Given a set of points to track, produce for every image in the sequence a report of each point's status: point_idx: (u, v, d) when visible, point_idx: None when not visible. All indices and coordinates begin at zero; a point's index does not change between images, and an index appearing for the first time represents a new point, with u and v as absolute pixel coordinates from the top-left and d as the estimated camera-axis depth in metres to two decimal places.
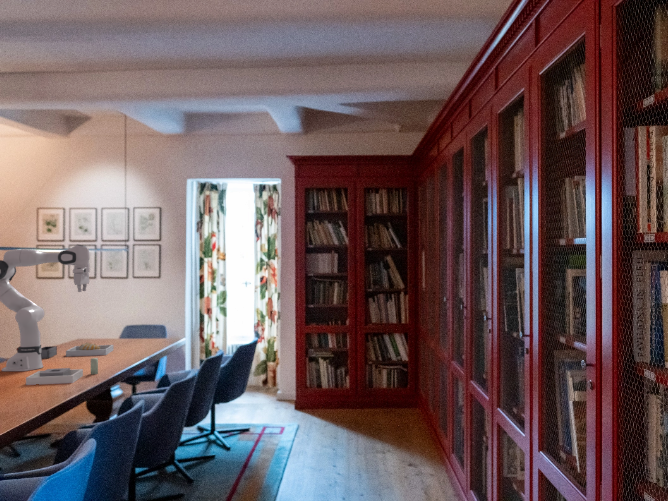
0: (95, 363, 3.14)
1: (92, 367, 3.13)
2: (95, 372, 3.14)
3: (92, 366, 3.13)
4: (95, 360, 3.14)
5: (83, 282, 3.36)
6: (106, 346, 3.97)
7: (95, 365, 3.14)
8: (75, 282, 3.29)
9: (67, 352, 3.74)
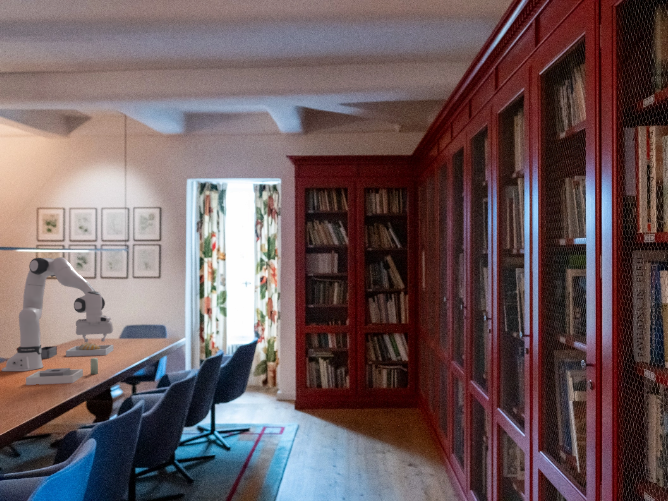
0: (95, 363, 3.14)
1: (92, 367, 3.13)
2: (95, 372, 3.14)
3: (92, 366, 3.13)
4: (95, 360, 3.14)
5: None
6: (106, 346, 3.97)
7: (95, 365, 3.14)
8: (111, 330, 3.16)
9: (67, 352, 3.74)
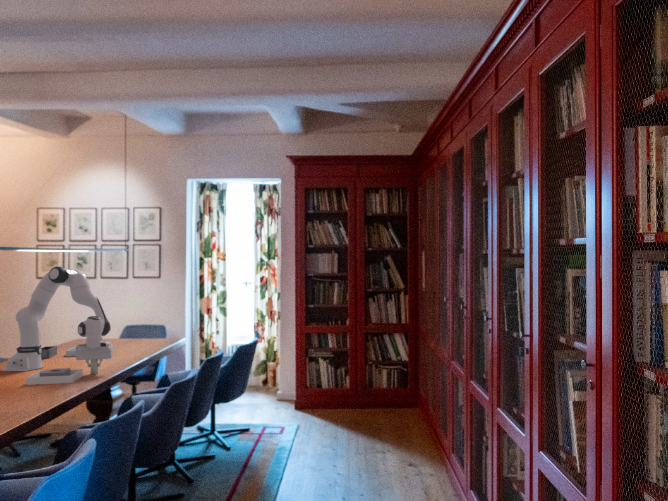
0: (95, 363, 3.14)
1: (92, 367, 3.13)
2: (95, 372, 3.14)
3: (92, 366, 3.13)
4: (95, 360, 3.14)
5: None
6: None
7: (95, 365, 3.14)
8: (111, 356, 3.16)
9: (67, 352, 3.74)
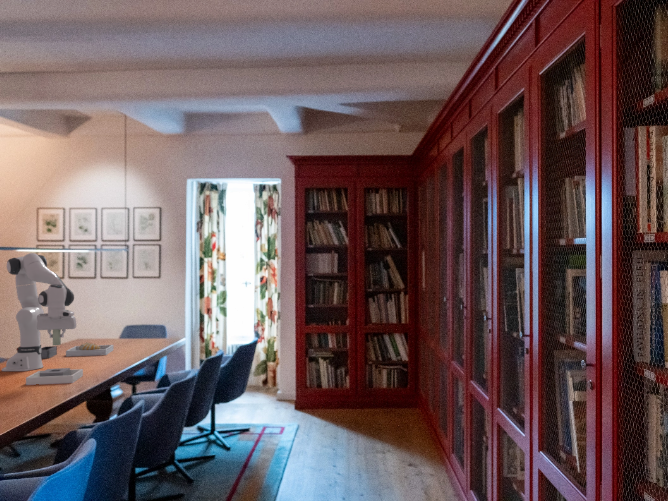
0: (57, 333, 2.98)
1: (54, 338, 2.98)
2: (57, 343, 2.98)
3: (54, 336, 2.98)
4: (57, 330, 2.98)
5: None
6: (106, 346, 3.97)
7: (57, 335, 2.98)
8: (74, 326, 3.00)
9: (67, 352, 3.74)
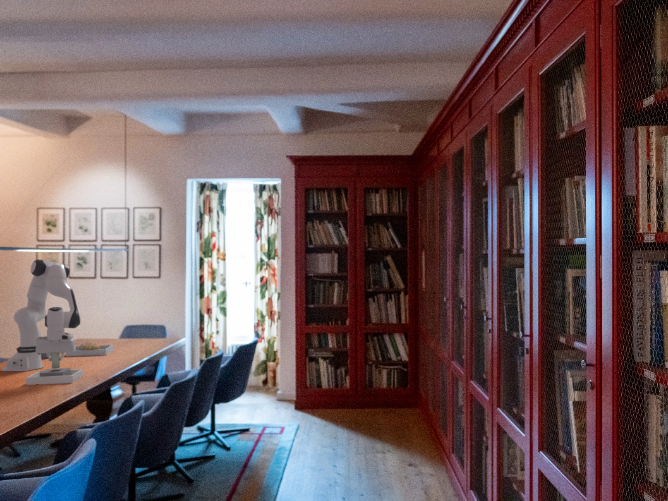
0: (56, 356, 2.97)
1: (53, 361, 2.97)
2: (56, 366, 2.97)
3: (53, 360, 2.97)
4: (56, 353, 2.98)
5: None
6: (106, 346, 3.97)
7: (56, 359, 2.97)
8: (73, 349, 3.00)
9: (67, 352, 3.74)
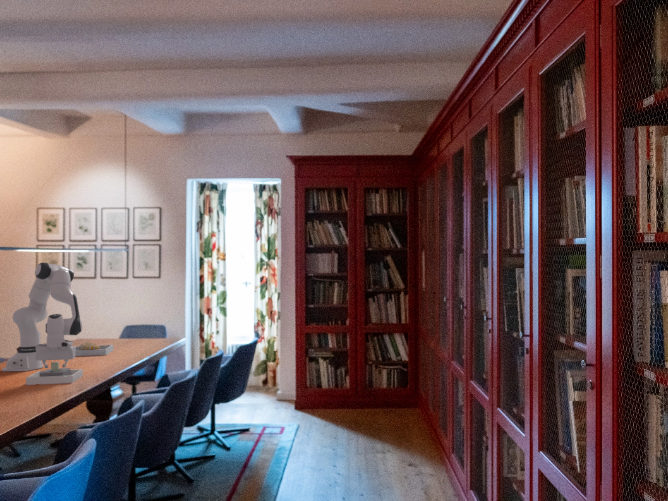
0: (56, 367, 2.97)
1: (53, 371, 2.97)
2: None
3: (53, 370, 2.97)
4: (56, 364, 2.98)
5: None
6: (106, 346, 3.97)
7: (56, 369, 2.97)
8: (73, 356, 3.00)
9: None
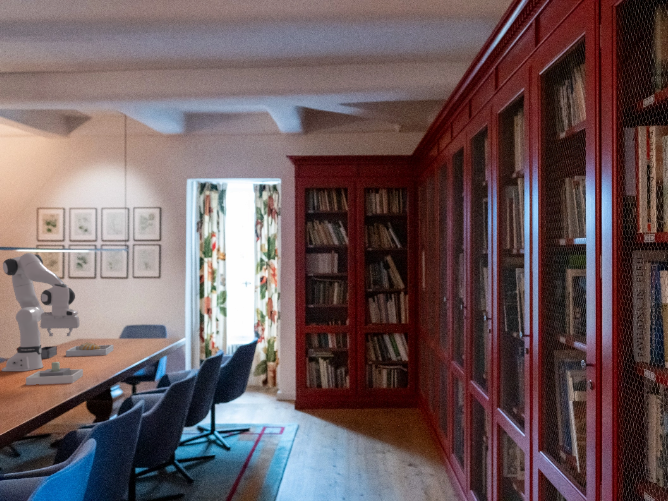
0: (56, 367, 2.97)
1: (53, 371, 2.97)
2: None
3: (53, 370, 2.97)
4: (56, 364, 2.97)
5: None
6: (106, 346, 3.97)
7: (56, 369, 2.97)
8: (78, 325, 3.04)
9: (67, 352, 3.74)
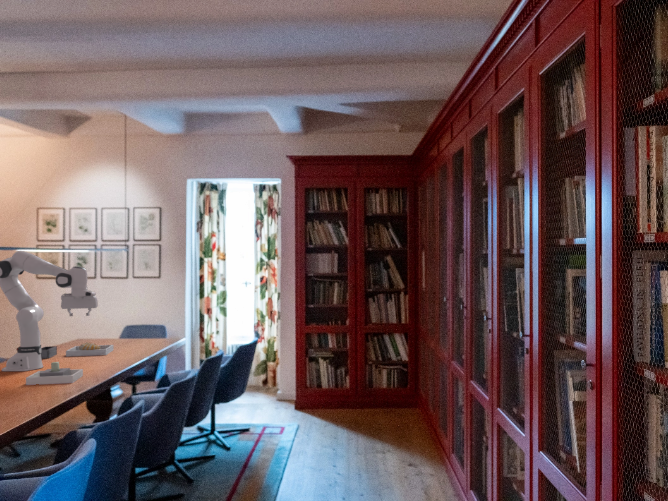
0: (56, 367, 2.97)
1: (53, 371, 2.97)
2: None
3: (53, 370, 2.97)
4: (56, 364, 2.97)
5: None
6: (106, 346, 3.97)
7: (56, 369, 2.97)
8: (96, 305, 3.21)
9: (67, 352, 3.74)
